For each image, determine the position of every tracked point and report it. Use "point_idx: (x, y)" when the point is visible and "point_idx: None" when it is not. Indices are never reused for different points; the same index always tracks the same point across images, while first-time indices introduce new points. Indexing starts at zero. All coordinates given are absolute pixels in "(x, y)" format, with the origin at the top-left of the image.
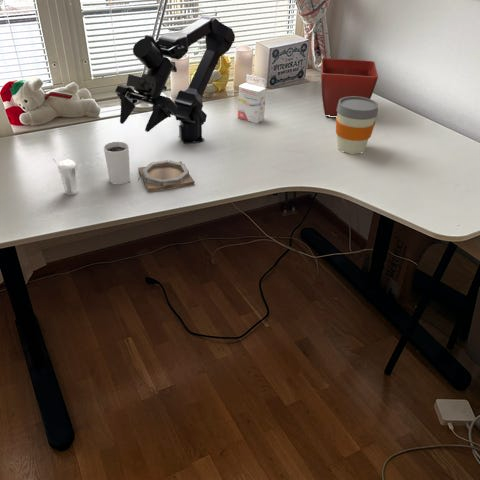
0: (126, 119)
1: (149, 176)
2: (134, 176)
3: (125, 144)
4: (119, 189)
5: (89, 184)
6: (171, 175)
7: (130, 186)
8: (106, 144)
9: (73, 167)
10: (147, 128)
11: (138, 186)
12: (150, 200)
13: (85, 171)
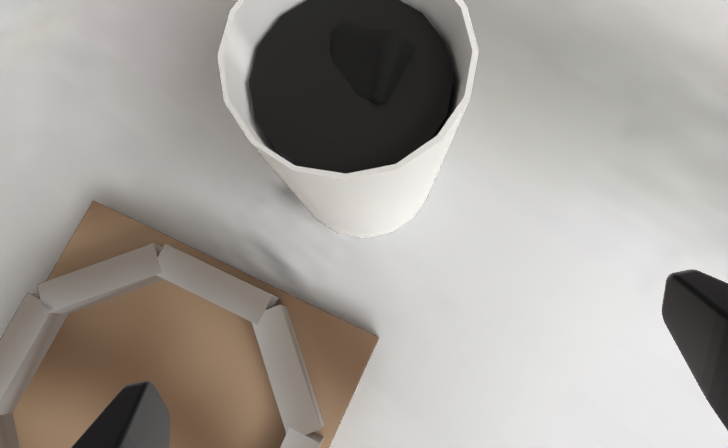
0: (721, 420)
1: (158, 275)
2: (330, 265)
3: (352, 176)
4: None
5: None
6: None
7: (241, 167)
8: (461, 12)
9: None
10: (103, 414)
11: (205, 203)
12: (26, 155)
13: (606, 71)
